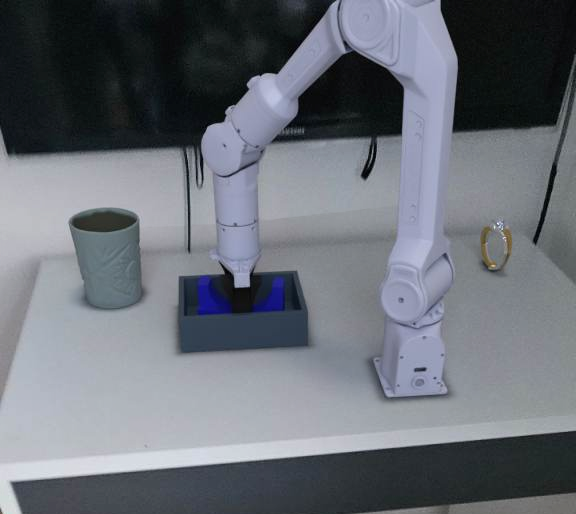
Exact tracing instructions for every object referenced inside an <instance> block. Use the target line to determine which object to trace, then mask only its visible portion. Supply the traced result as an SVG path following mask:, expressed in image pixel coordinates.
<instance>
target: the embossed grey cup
mask: <svg viewBox="0 0 576 514" xmlns="http://www.w3.org/2000/svg"><path fill="white" fill-rule="evenodd" d="M68 228H69V231H70V235H71V238H72V242H73V247H74V251H75V255H76V259H77V265H78V268H79V273H80V276H81V279H82V281H83V288H84V289H83V290H84V293H85V297H86V300H87V301H88V303H89V304H90V305H92V306H94V307H96V308H100V309H111V310H112V309H120V308H126V307H129V306H131V305H133V304H135V303H137V302H138V301H140V299H141V297H142V296H143V282H142V260H141V259H142V254H141V247H140V241H141V237H140V235H141V230H140V218H139V215H138V214H137V213H136V212H134V211H132V210H129V209H125V208H120V207H96V208H90V209H85V210H82V211H80V212H77V213H75V214H73V215H72V216H71V217H69V220H68Z"/></svg>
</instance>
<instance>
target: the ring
mask: <svg viewBox="0 0 576 514" xmlns="http://www.w3.org/2000/svg"><path fill="white" fill-rule="evenodd" d="M492 231H494V232H495V233H496V234H497V235H498V236H499V238H500V240H501V243H502V254H501V258H500V260H499V261H498V263H497V264H496V262H493V261H492V260H491V258H490V254H489V247H488V245H489V238H490V234H491V233H492ZM512 248H513V237H512V233H511V230H510V224H509V223H508V222H506V220H505V219H503V220H502V218H500V219H495V218H492V223H490V224H489V225H487V226H485V227H483V229H482V231H481V234H480V249H481V255H482V259H483V261H484V263H485V265H486V267H487V269H488V271H497V270H501V269H502V268H504V267H505V265H507V262H508V261H509V259H510V256H511V253H512Z"/></svg>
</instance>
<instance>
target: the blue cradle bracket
mask: <svg viewBox="0 0 576 514" xmlns="http://www.w3.org/2000/svg"><path fill="white" fill-rule="evenodd" d="M197 286H198V297H199V307H198V315H214V314H233V313H232V308H231V304H230V302H228V301H226V300H225V299H224V298H222V297H221V296H220V295H219V294H218V292H217V291H216V289H215V287H214V285H213V282H212V278H211V276H201V277H200V279H199V282H198V285H197ZM271 311H285V282H284V278H274V280H273V285H272V290H271V292H270V293H269V295H268V296H267V297H266V298H265V299H264V300H263V301H261V302H259V303H257V304H255V305H253V312H271Z"/></svg>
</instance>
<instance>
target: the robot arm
mask: <svg viewBox="0 0 576 514" xmlns="http://www.w3.org/2000/svg"><path fill="white" fill-rule="evenodd" d="M353 51H355V52H357V53H358V54H360V55H361V56H363V57H365V58H367V59H368V60H370V61H372V62H374V63H375V64H377V65H380V66H382V67H383V68H385V69H386V70H387V71H389V72H390V74H391V75H392V76H393V77H394V78H395V79H396V80H397V81H398V82H399V84H401V85H402V87H403V106H402V123H401V124H402V126H401V127H402V128H401V143H400V166H399V169H400V170H399V184H398V185H399V189H398V206H397V226H396V227H397V228H396V238H395V241H394V244H393V246H392V249H391V252H390V254H389V256H388V259H387V262H386V273H385V275H384V278H383V280H382V281H381V284H380V286H379V288H378V302H379V305H380V308H381V310H382V311H383V313H384V326H383V337H382V347H381V348H382V350H381V356H375V357H373V358H372V362H373V365H374V369H375V372H376V373H377V376H378V379H379V382H380V384H381V388H382V390H383V393H384V396H385V397H386V398H402V397H403V398H404V397H419V396H435V395H437V396H438V395H446V394H447V393H448V388H447V386H446V384H445V382H444V379H443V373H444V367H445V361H446V351H447V350H446V346H445V343H444V340H443V338H442V329H443V322H444V315H445V303H444V295H446V294H447V293H449V291H450V290H451V289H452V288H453V286H454V284H455V280H456V268H455V265H454V261H453V259H452V256H451V247H452V242H451V240H450V239H449V238H448V237H447V236H446V235H445V234H444V230H445V229H444V226H445V216H446V206H447V195H448V194H447V193H448V185H449V184H448V183H449V171H450V159H451V151H452V149H451V148H452V139H453V138H452V137H453V128H454V127H453V125H454V116H455V103H456V92H457V81H458V71H459V65H458V55H457V53H456V49H455V47H454V44H453V41H452V39H451V36H450V33H449V31H448V27H447V25H446V22H445V19H444V17H443V14H442V11H441V0H335V1H334V2H332V4H330V6H329V7H328V9H327V10H326V12H325V14H324V15H323V16H322V18H321V19H320V20H319V22H318V23H317V24H316V25H315V26H314V28H313V29H312V30H311V32H310V33H309V34H308V36H306V38H305V39H304V40H303V41H302V43H301V44H300V46H298V48H297V49H296V50H295V52H294V53H293V54H292V56H290V58H289V59H288V60H287V62H286V63H285V64H284V65H283V67H282V68H281V69H280V71H278V73H272V72H271V73H269V72H267V73H266V72H265V73H263V74H262V75H261V76H260V75H256V76H253V77H251V78H250V79H249V81H248V82H247V83H246V86H247V89H248V90H247V91H246V93H245V94H244V95H243V96H242V97H241V99H239V101H238V102H237V103H236V104H233V105H231V106H228V108H227V109H226V110H225V112H224V114H225V115H226V116H225V118H224V121H222V122H217V123H213V124H211V125H208V126H207V128H206V130H205V132H204V134H203V135H202V138H201V143H200V147H201V148H200V149H201V155H202V158H203V161H204V162H205V164H206V166H207V167H208V168H209V170H210V171H211V172H212V173H211V174H212V183H213V185H212V186H213V203H214V212H215V213H214V215H215V217H214V218H215V228H216V244H217V248H215V249H214V248H213V249H210V250H209V251H208V252H209V260H211V261H218V264H219V265H220V267H221V269H222V270H223V274H224V275H220V282H221V285H222V287H223V289H224V290H225V292H226V293H227V296H228V298H229V301H230V304H231V308H232V313H252V312H253V305H254V300H255V296H256V294H257V291H258V289H259V287H260V286H261V283H262V277H261V275H256V276H253V273H255V269H256V267H257V265H258V263H259V261H260V260H261V258H262V250H261V248H260V219H259V217H260V216H259V187H258V175H259V174H260V163H261V161H262V160H263V158H264V156H265V153H266V151H267V146H268V145H269V144H270V143H271V142H273V140H274V139H276V137H278V135H279V134H280V133H281V132H282V131H283V130H284V129H285V128H286V127H287V126H288V125H289V124H290V123H291V122H292V121H293V120H294V118H296V116H297V115H298V111H299V97H300V96H301V95H302V94H303V93H304V92H305V91H306V90H307V89H309V87H311V85H313V84H314V83H315V82H316V81H317V79H319V78H320V77H321V76H322V75H323V74H324V73H325V72H326V71H327V70H328V69H329V68H330V67H331V66H332V65H333V64H335V62H336V61H337V60H339V58H341V57H342V56H343V55H345V54H348V53H351V52H353Z"/></svg>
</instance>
